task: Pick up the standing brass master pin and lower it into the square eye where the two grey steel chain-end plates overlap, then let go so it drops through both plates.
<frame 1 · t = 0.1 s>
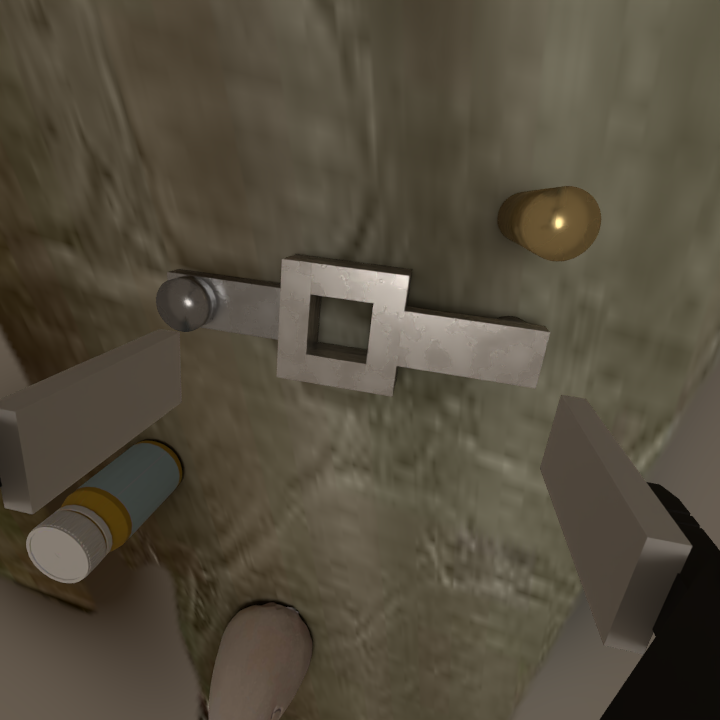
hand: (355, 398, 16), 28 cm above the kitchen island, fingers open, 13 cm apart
bottle: (158, 463, 54), on the kitchen island
sculpture: (272, 632, 60), on the kitchen island
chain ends: (347, 318, 44), on the kitchen island
master pin: (522, 217, 38), on the kitchen island
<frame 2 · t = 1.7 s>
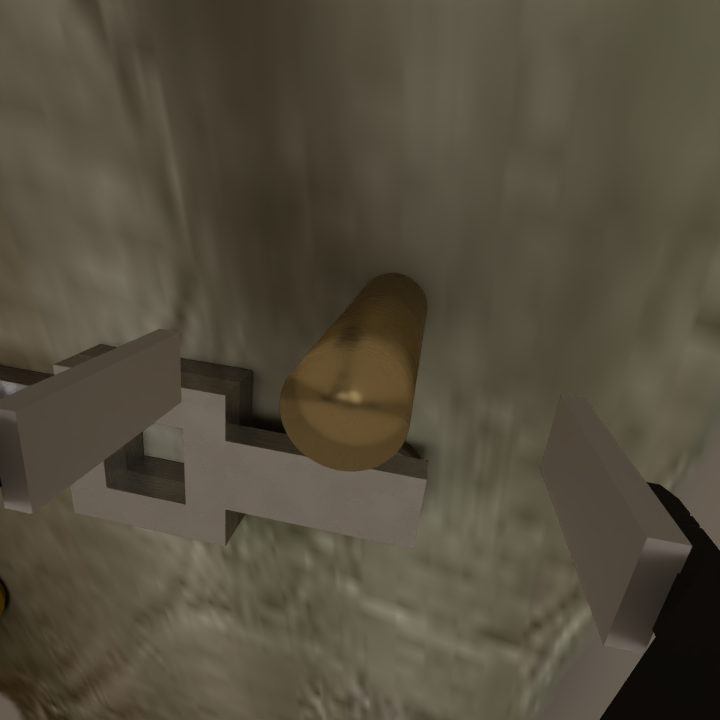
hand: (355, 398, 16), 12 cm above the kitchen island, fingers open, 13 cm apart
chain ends: (177, 429, 32), on the kitchen island
master pin: (392, 307, 27), on the kitchen island
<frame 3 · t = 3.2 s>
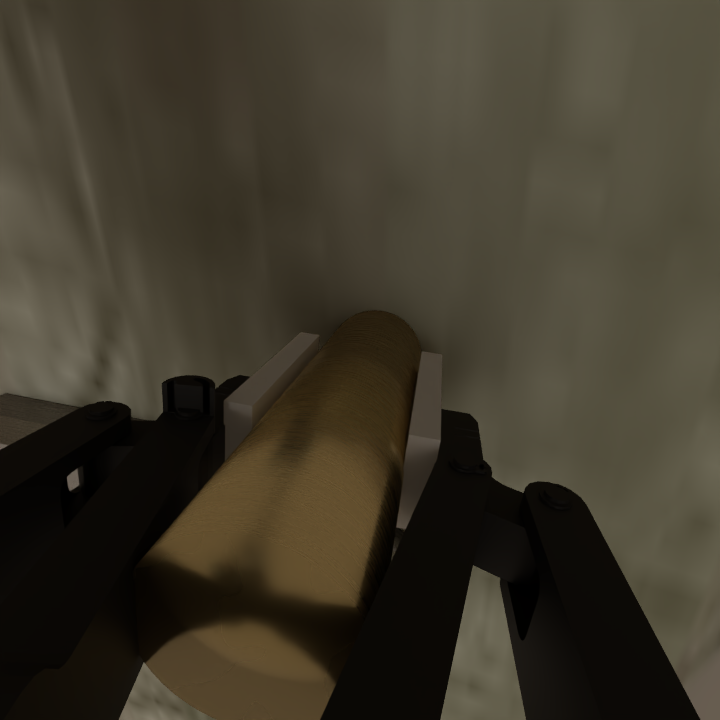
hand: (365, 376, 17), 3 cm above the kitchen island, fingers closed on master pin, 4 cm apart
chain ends: (106, 499, 25), on the kitchen island
master pin: (375, 355, 20), on the kitchen island, touching gripper
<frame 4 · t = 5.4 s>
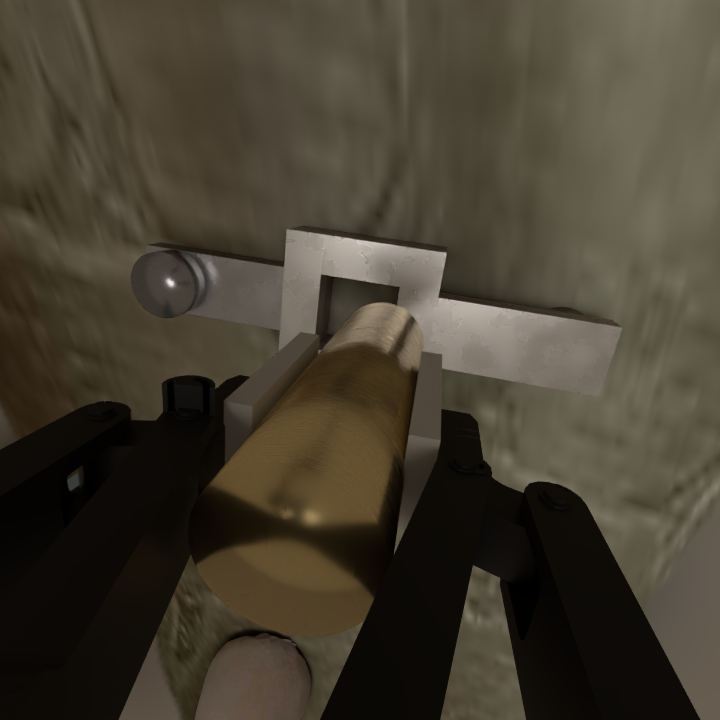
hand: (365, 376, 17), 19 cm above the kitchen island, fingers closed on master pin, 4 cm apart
sculpture: (264, 665, 53), on the kitchen island
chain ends: (364, 307, 36), on the kitchen island
master pin: (381, 343, 22), point 14 cm above the kitchen island, touching gripper
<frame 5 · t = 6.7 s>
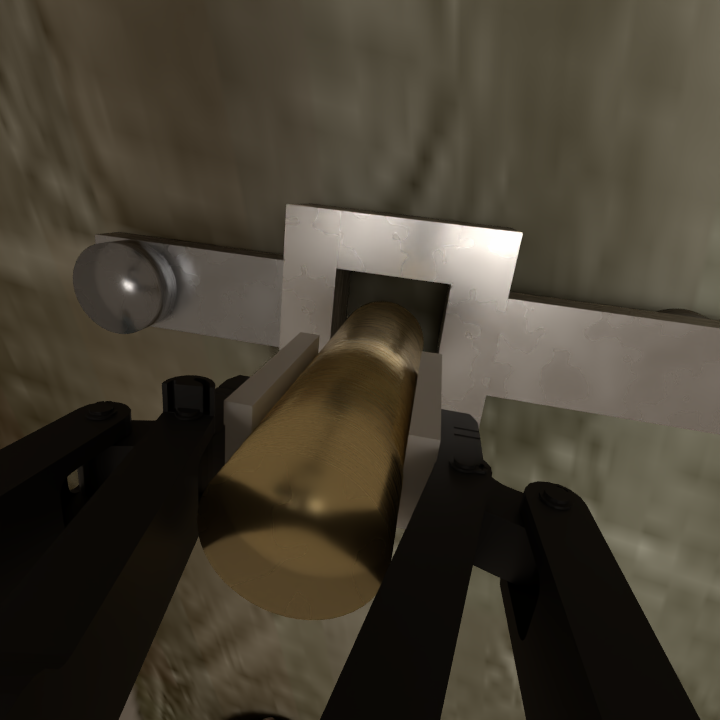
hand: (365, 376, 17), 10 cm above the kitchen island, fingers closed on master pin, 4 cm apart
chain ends: (393, 313, 27), on the kitchen island
master pin: (382, 341, 22), point 5 cm above the kitchen island, touching gripper
when the fingers open (5 cm above the kitchen island, at t = 7.8 s): master pin stays where it is, resting in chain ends.
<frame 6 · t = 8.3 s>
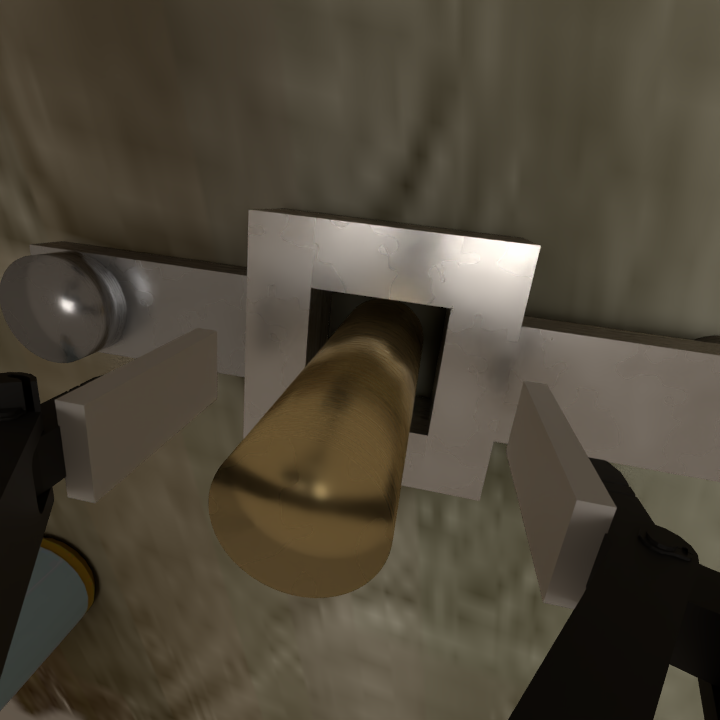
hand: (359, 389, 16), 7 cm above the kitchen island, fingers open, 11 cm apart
bottle: (58, 569, 33), on the kitchen island
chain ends: (383, 337, 23), on the kitchen island
master pin: (382, 338, 23), resting in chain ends
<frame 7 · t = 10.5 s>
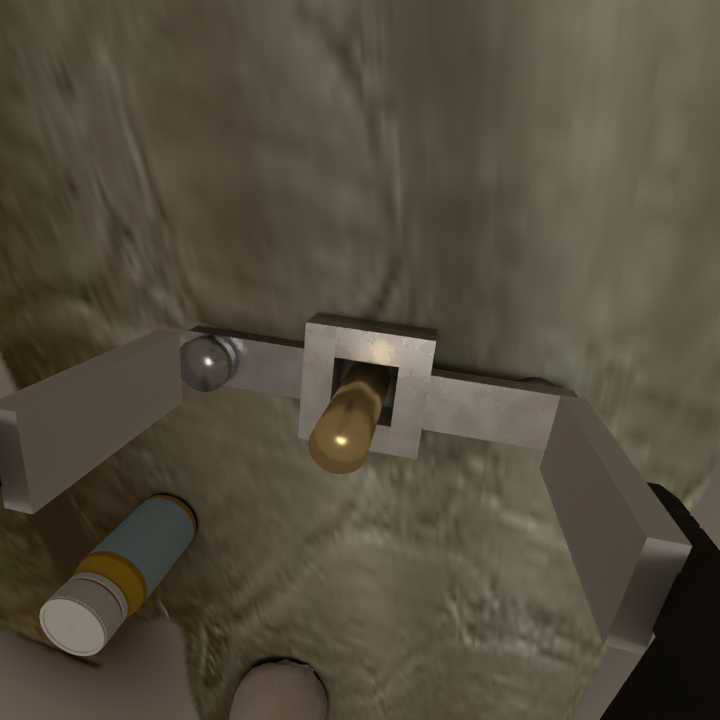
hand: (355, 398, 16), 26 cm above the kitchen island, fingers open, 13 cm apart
bottle: (172, 517, 53), on the kitchen island
sculpture: (285, 690, 58), on the kitchen island
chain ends: (369, 377, 43), on the kitchen island
master pin: (369, 377, 43), resting in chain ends
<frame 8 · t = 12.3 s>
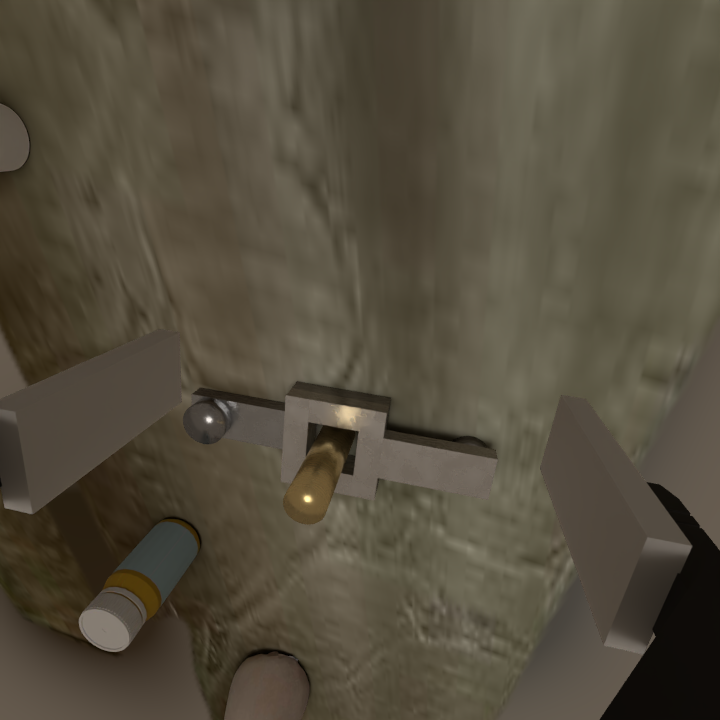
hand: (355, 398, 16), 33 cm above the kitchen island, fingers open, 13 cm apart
bottle: (179, 535, 64), on the kitchen island
sculpture: (274, 676, 70), on the kitchen island
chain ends: (338, 432, 54), on the kitchen island
cup: (5, 138, 49), on the kitchen island
master pin: (338, 432, 54), resting in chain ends
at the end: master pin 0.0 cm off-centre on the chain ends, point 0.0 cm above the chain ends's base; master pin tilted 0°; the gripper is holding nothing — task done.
